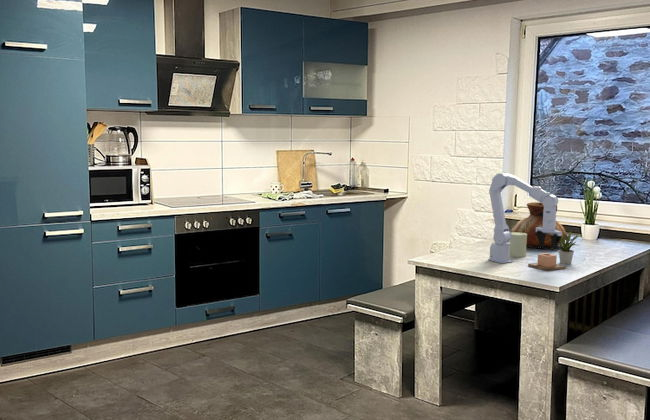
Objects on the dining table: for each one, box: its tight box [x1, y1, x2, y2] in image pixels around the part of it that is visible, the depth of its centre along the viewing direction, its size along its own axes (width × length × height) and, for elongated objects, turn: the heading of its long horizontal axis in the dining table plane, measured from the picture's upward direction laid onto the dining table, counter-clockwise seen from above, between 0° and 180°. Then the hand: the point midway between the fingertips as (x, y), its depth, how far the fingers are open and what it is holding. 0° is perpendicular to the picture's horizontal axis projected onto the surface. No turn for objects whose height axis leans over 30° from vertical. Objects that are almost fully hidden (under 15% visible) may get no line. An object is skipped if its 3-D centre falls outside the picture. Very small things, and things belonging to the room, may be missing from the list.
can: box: [509, 231, 527, 258], centre depth 343 cm, size 9×9×12 cm
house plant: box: [558, 230, 582, 265], centre depth 324 cm, size 14×14×16 cm
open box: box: [536, 252, 558, 267], centre depth 315 cm, size 6×6×5 cm
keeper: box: [527, 262, 567, 272], centre depth 315 cm, size 12×12×5 cm
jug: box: [510, 201, 568, 249], centre depth 370 cm, size 30×30×25 cm
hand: (547, 248), depth 314 cm, fingers open, 7 cm apart
